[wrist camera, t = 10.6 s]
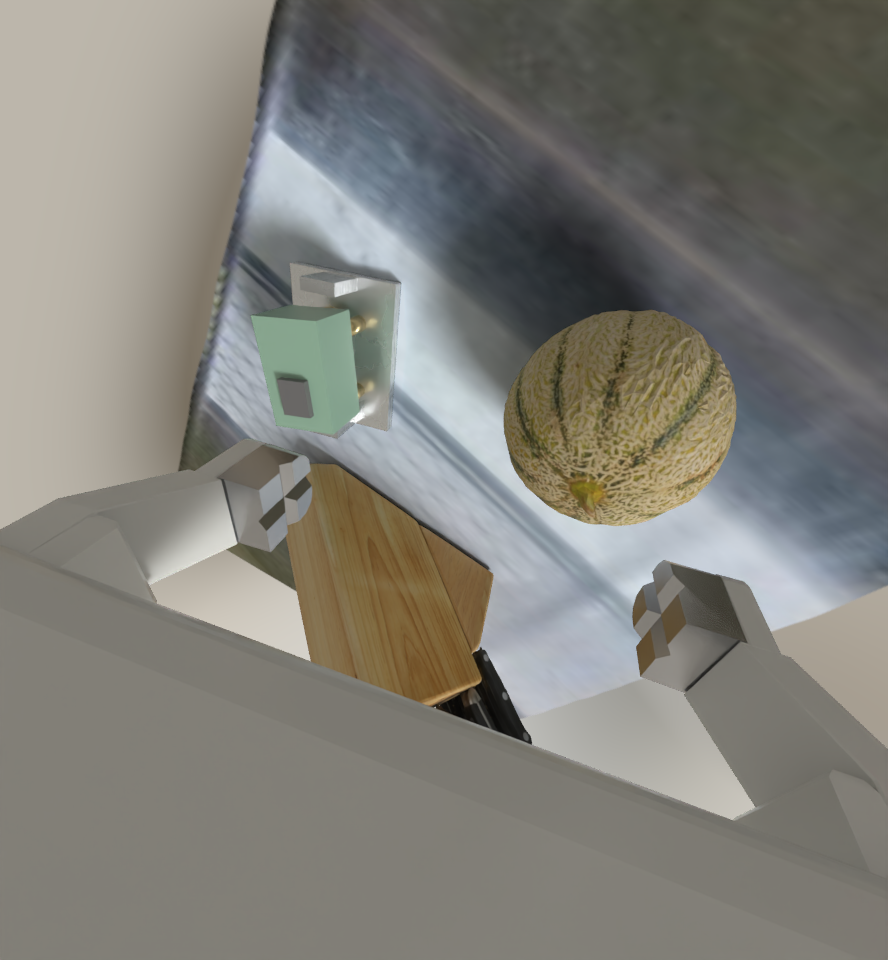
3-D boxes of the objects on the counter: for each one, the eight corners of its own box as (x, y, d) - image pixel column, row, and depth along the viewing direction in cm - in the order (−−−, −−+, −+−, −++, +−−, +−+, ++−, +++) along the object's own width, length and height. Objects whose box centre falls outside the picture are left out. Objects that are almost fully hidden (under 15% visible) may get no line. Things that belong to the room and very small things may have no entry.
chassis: (297, 261, 35) (259, 266, 31) (401, 283, 34) (376, 290, 29) (307, 404, 43) (278, 423, 39) (391, 426, 42) (370, 448, 37)
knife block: (499, 645, 56) (440, 978, 31) (294, 504, 52) (38, 757, 27) (553, 612, 50) (534, 1000, 25) (324, 449, 46) (23, 714, 21)
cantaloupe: (733, 301, 28) (856, 356, 16) (666, 473, 36) (713, 596, 24) (527, 289, 31) (498, 327, 19) (507, 449, 39) (478, 548, 27)
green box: (290, 304, 33) (245, 316, 28) (349, 309, 32) (311, 323, 27) (308, 404, 38) (272, 428, 33) (359, 412, 37) (329, 437, 32)
